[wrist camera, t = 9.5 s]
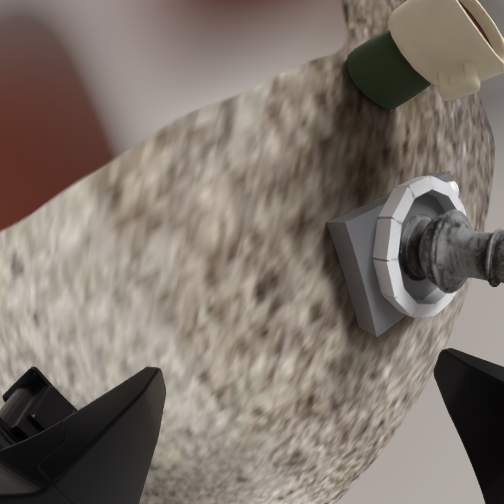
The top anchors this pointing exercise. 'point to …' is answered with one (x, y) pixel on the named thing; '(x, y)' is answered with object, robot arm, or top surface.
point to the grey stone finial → (450, 251)
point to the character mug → (429, 52)
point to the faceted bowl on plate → (390, 252)
